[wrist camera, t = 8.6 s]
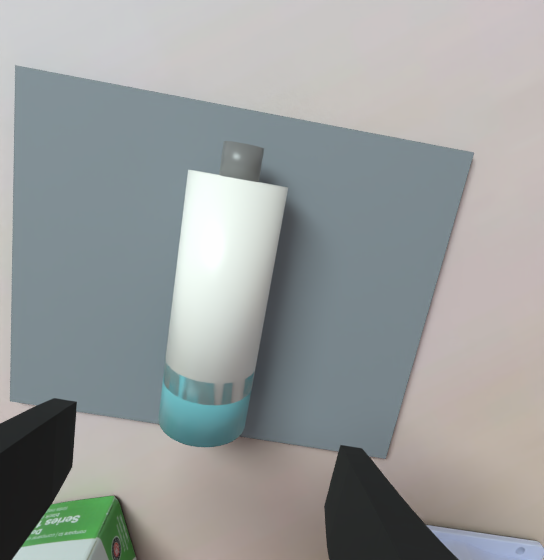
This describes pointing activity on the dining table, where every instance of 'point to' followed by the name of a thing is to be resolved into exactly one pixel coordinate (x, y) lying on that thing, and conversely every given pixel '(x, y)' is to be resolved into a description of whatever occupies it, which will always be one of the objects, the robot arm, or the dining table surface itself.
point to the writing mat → (165, 244)
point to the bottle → (220, 298)
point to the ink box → (80, 533)
